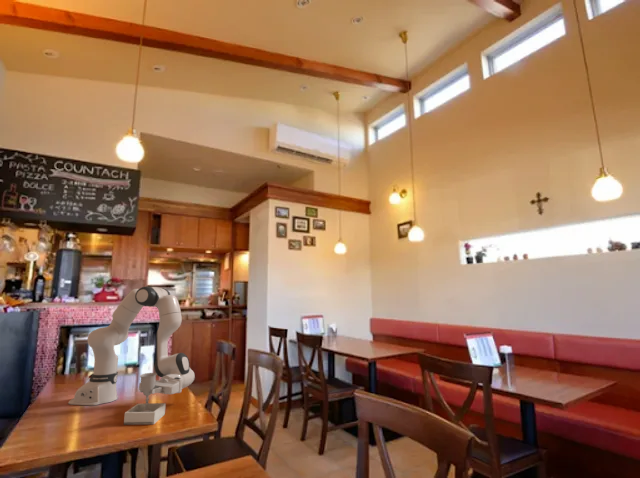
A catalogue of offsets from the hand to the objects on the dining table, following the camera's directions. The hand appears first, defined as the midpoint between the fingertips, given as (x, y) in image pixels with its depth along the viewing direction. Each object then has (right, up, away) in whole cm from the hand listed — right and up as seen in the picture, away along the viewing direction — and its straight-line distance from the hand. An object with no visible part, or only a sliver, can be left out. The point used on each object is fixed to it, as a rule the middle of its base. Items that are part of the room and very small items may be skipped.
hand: (146, 391), depth 161 cm
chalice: (0, -11, -1) cm, 11 cm away
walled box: (0, -13, -1) cm, 13 cm away
